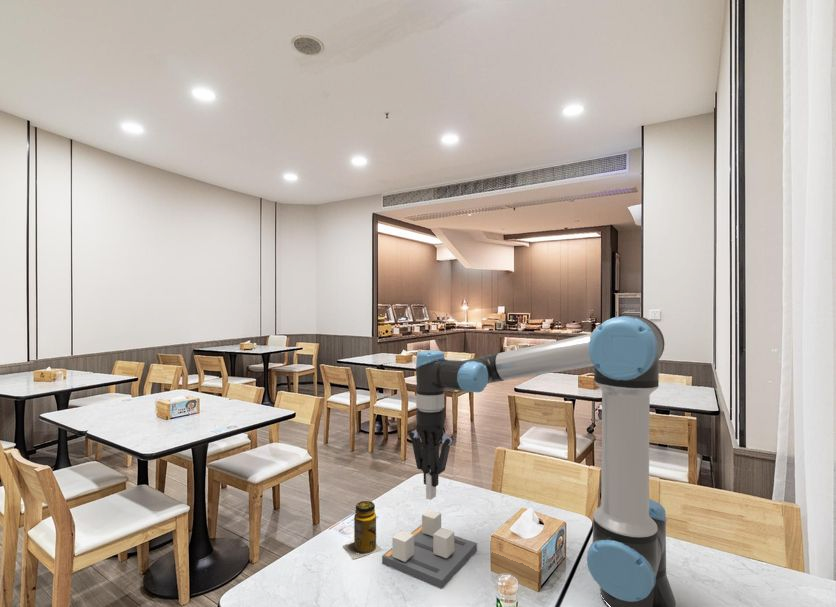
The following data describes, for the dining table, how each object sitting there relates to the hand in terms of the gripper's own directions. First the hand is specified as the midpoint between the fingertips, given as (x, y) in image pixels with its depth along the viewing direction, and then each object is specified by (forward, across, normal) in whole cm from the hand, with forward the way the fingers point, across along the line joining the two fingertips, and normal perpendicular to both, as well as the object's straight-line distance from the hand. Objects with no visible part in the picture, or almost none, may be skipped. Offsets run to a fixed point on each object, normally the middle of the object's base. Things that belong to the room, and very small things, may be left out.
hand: (431, 497), depth 113 cm
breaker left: (+13, +4, +7) cm, 16 cm away
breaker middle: (+13, -4, 0) cm, 14 cm away
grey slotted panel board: (+16, 0, 0) cm, 16 cm away
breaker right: (+13, +4, -7) cm, 16 cm away
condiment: (+16, +18, +7) cm, 25 cm away
